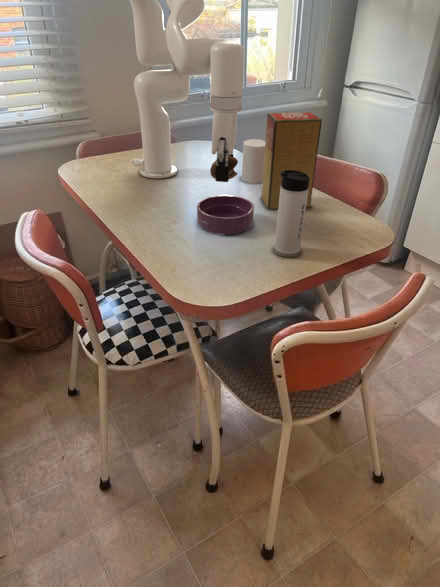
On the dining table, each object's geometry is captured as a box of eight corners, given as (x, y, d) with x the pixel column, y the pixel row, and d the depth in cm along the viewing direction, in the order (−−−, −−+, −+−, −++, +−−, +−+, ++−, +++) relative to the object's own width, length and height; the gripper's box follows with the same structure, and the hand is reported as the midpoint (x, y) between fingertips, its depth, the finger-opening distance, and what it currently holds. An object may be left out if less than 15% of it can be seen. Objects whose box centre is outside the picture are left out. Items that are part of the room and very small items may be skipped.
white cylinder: (265, 175, 152) (268, 139, 145) (265, 184, 146) (268, 147, 139) (242, 174, 153) (244, 138, 146) (240, 182, 146) (242, 146, 139)
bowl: (192, 233, 116) (192, 215, 113) (202, 209, 128) (202, 193, 125) (250, 238, 114) (251, 220, 111) (254, 213, 127) (256, 197, 124)
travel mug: (270, 245, 111) (278, 167, 100) (296, 245, 112) (306, 167, 100) (275, 258, 106) (283, 177, 95) (302, 257, 107) (313, 177, 95)
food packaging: (301, 195, 138) (312, 111, 124) (311, 207, 130) (324, 119, 116) (260, 197, 136) (266, 112, 122) (267, 210, 129) (275, 120, 114)
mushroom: (248, 167, 115) (236, 146, 112) (239, 181, 109) (226, 160, 106) (224, 178, 119) (212, 158, 117) (214, 193, 114) (201, 172, 111)
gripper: (216, 94, 111) (215, 163, 121) (203, 110, 97) (204, 186, 107) (245, 96, 110) (242, 165, 120) (237, 112, 96) (235, 188, 106)
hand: (224, 174), depth 114 cm, fingers closed on mushroom, 8 cm apart
